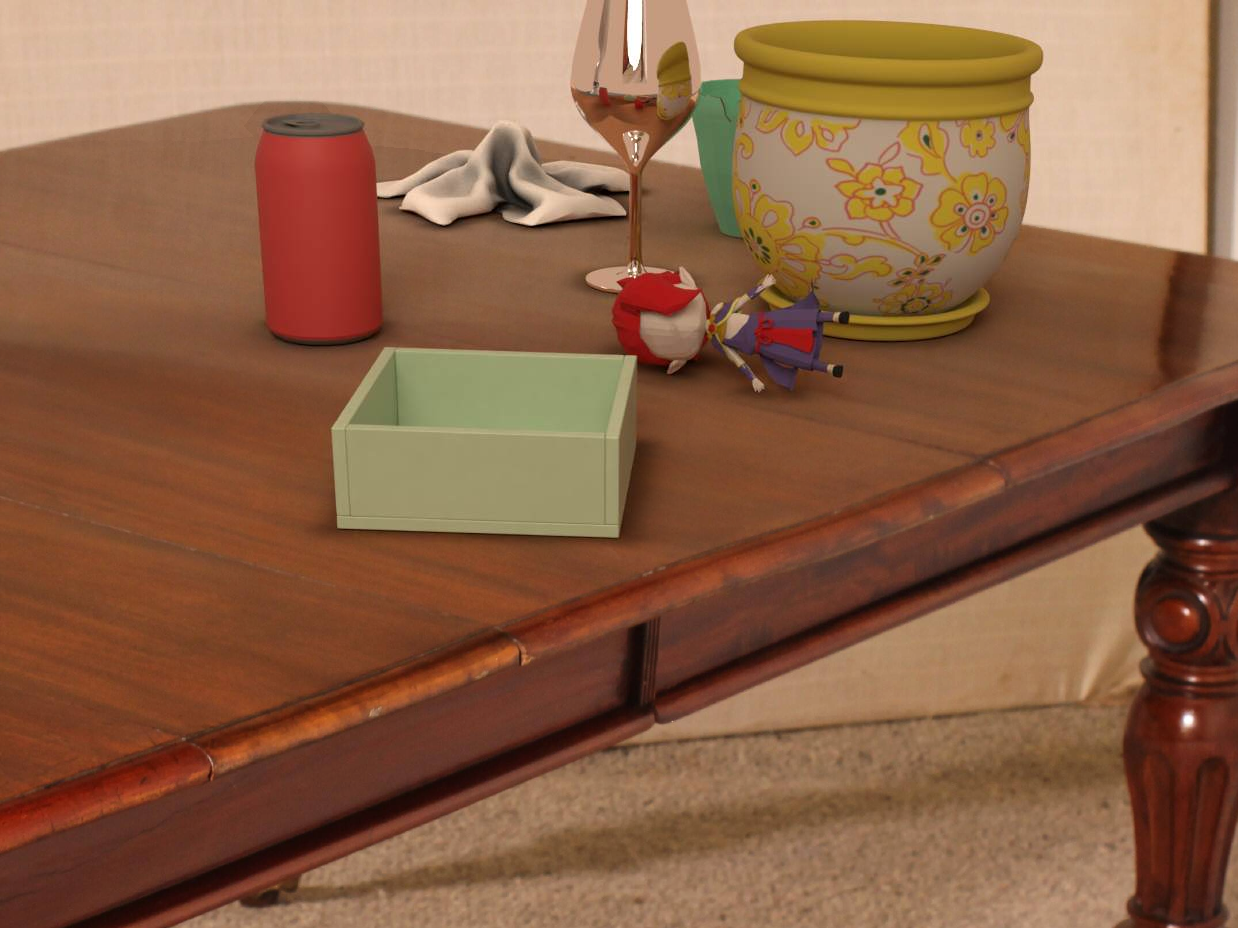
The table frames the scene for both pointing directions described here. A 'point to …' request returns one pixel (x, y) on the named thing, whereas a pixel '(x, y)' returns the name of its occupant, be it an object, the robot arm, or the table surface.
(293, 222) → the beer can
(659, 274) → the figurine
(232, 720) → the table surface
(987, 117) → the flowerpot
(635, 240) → the wineglass
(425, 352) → the tub
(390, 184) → the cloth
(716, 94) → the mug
